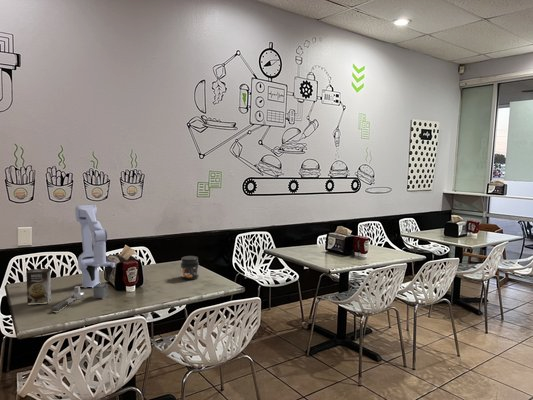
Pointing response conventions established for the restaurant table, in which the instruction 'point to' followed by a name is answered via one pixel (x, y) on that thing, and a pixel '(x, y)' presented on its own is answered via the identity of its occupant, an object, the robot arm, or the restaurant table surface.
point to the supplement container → (189, 268)
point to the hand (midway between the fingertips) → (100, 280)
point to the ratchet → (74, 295)
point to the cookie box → (38, 286)
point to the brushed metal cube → (100, 290)
